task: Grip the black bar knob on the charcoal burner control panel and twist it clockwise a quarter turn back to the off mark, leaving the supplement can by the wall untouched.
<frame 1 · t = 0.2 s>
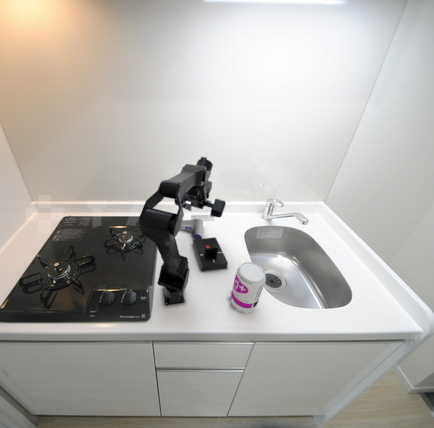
hand: (201, 213, 86), 14 cm above the worktop, tool tilted 30°, fingers open, 9 cm apart
stove panel: (208, 255, 85), on the worktop
infrared thermometer: (186, 233, 98), on the worktop
supplement can: (242, 302, 68), on the worktop
stove knob: (211, 250, 81), point 5 cm above the worktop, hinge at 90.0°
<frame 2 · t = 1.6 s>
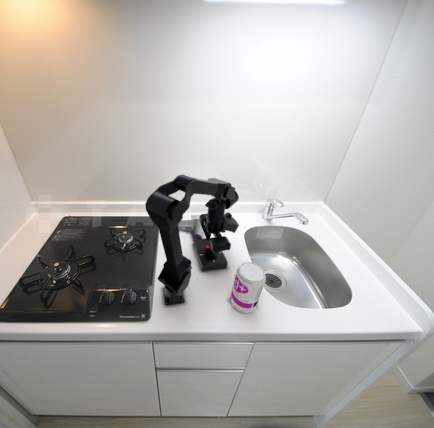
hand: (211, 247, 80), 6 cm above the worktop, tool pointing down, fingers open, 9 cm apart
nothing on the worktop moved.
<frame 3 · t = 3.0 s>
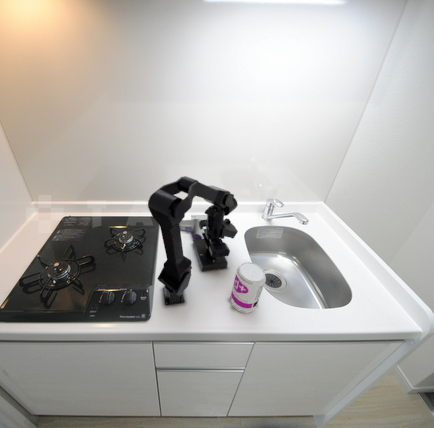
hand: (210, 253, 82), 4 cm above the worktop, tool pointing down, fingers closed on stove knob, 2 cm apart
stove knob: (211, 250, 81), point 5 cm above the worktop, hinge at 90.0°, touching gripper
everything else where it was.
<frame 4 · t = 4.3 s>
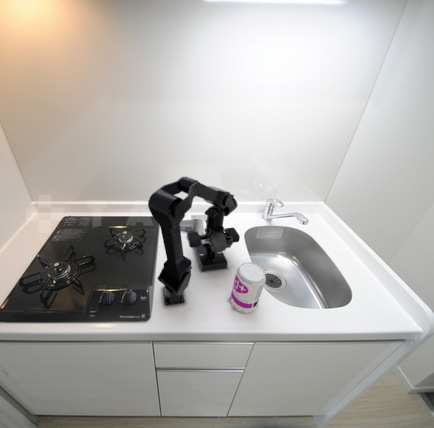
hand: (210, 253, 82), 3 cm above the worktop, tool pointing down, fingers closed
stove knob: (211, 250, 81), point 5 cm above the worktop, hinge at 0.8°
everything else where it was.
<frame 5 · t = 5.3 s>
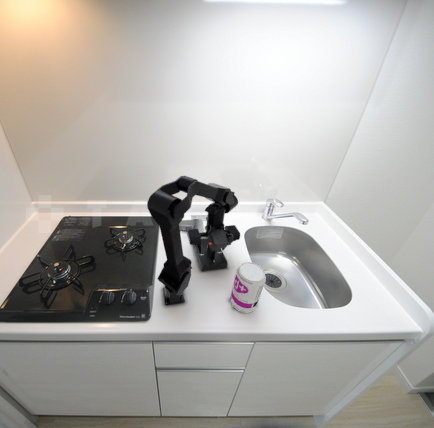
hand: (211, 251, 81), 4 cm above the worktop, tool pointing down, fingers open, 9 cm apart
nothing on the worktop moved.
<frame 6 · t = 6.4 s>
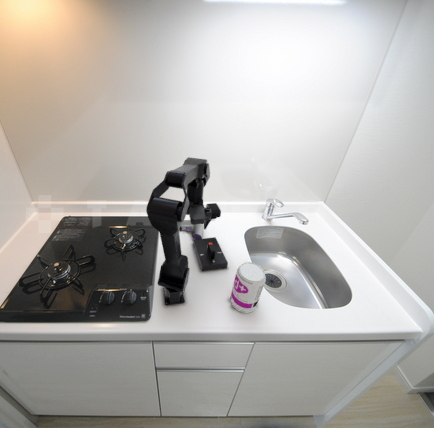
hand: (192, 230, 80), 12 cm above the worktop, tool pointing down, fingers open, 9 cm apart
nothing on the worktop moved.
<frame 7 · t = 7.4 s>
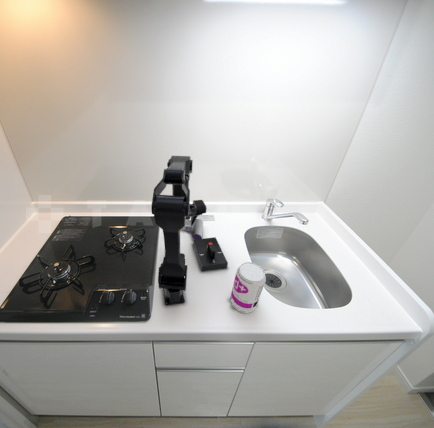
hand: (180, 226, 82), 12 cm above the worktop, tool pointing down, fingers open, 9 cm apart
nothing on the worktop moved.
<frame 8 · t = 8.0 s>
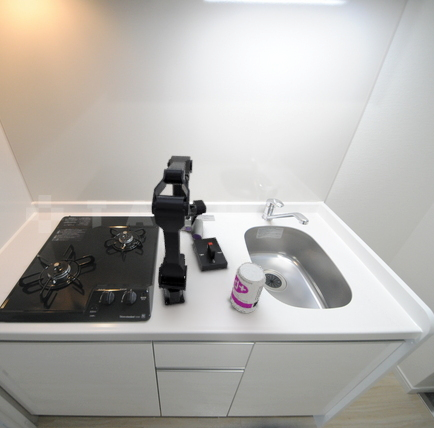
hand: (180, 226, 82), 12 cm above the worktop, tool pointing down, fingers open, 9 cm apart
nothing on the worktop moved.
at the end: stove knob at +1° (first picture: +90°); supplement can moved 0.2 cm from its start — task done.
